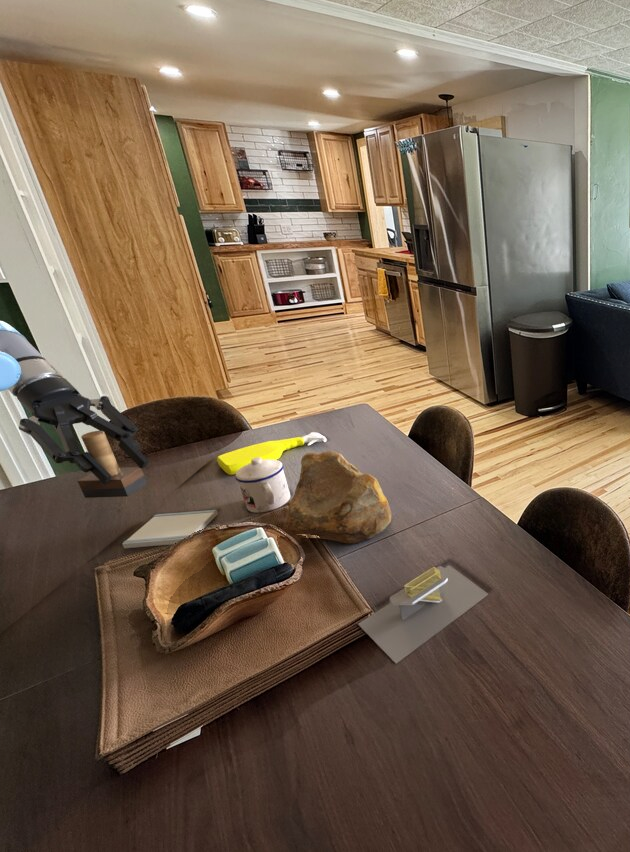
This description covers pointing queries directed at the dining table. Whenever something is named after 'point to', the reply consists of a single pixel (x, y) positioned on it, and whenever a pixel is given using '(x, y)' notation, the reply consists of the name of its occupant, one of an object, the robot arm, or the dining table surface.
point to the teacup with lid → (263, 485)
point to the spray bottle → (263, 451)
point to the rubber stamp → (121, 478)
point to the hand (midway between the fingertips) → (126, 472)
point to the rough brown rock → (336, 501)
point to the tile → (169, 528)
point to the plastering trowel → (421, 611)
